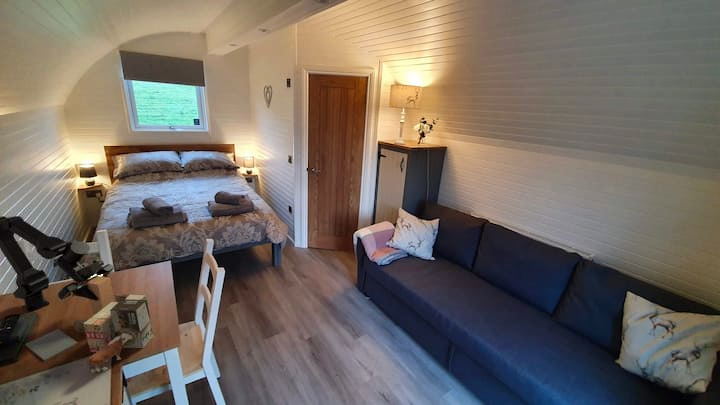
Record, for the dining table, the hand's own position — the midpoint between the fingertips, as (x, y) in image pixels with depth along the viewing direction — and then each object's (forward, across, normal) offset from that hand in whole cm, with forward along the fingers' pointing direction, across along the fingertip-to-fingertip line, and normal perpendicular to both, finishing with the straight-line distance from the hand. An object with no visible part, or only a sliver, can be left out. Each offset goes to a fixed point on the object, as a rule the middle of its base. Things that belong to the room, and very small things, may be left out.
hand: (104, 296), depth 121 cm
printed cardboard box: (+16, -6, -1) cm, 17 cm away
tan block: (+4, 0, +6) cm, 7 cm away
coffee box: (+22, -9, -8) cm, 25 cm away
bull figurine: (+22, -19, -8) cm, 30 cm away
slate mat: (+3, -16, +11) cm, 20 cm away
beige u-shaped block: (+7, 0, +7) cm, 10 cm away
